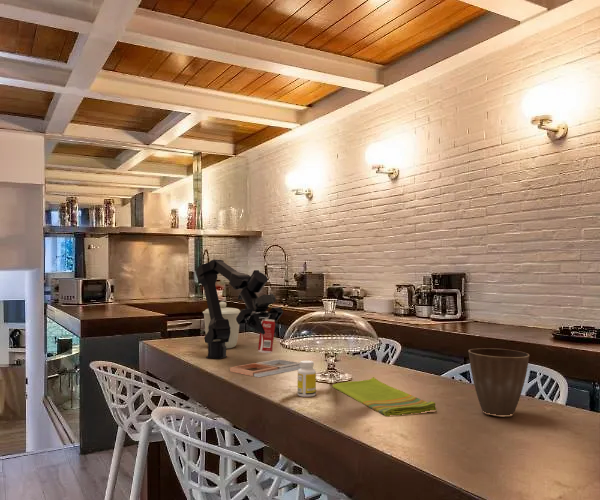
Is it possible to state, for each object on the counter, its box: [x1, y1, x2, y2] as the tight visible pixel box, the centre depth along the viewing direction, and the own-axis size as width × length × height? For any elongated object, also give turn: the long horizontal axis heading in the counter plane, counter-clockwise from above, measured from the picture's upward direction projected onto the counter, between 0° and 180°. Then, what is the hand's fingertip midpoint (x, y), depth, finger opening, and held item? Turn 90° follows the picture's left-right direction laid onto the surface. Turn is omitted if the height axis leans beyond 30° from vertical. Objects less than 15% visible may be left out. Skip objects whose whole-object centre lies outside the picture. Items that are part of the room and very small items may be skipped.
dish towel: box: [331, 376, 437, 417], centre depth 159 cm, size 15×36×3 cm, turn 19°
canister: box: [202, 301, 241, 350], centre depth 254 cm, size 18×18×21 cm
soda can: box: [257, 318, 276, 354], centre depth 201 cm, size 5×5×12 cm
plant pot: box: [468, 347, 530, 415], centre depth 144 cm, size 15×15×16 cm
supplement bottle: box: [297, 360, 317, 398], centre depth 162 cm, size 5×5×10 cm
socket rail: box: [229, 358, 301, 378], centre depth 201 cm, size 25×14×2 cm, turn 138°
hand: (269, 333), depth 201 cm, fingers closed on soda can, 5 cm apart
